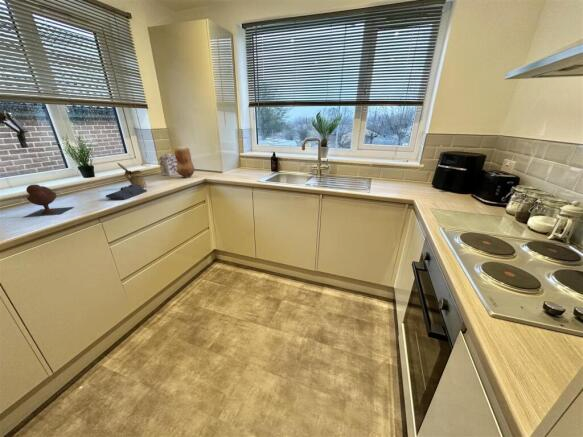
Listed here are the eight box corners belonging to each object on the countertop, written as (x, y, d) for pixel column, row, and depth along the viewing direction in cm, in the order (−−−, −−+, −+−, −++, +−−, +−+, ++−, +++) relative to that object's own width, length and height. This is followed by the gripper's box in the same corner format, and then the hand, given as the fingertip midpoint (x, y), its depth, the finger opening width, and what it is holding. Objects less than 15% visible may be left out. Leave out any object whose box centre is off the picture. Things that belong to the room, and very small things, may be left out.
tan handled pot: (125, 187, 171) (117, 161, 164) (146, 184, 177) (140, 160, 170) (124, 190, 164) (116, 163, 157) (146, 187, 170) (140, 161, 163)
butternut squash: (175, 177, 198) (168, 146, 188) (189, 174, 208) (184, 144, 199) (185, 179, 190) (178, 147, 181) (199, 176, 201) (194, 145, 191)
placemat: (19, 219, 116) (19, 218, 116) (41, 209, 129) (41, 209, 129) (57, 216, 119) (57, 215, 119) (74, 207, 132) (74, 206, 132)
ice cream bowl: (49, 215, 119) (36, 186, 113) (27, 216, 119) (13, 187, 114) (68, 208, 129) (57, 181, 123) (48, 209, 129) (36, 181, 123)
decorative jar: (169, 176, 203) (164, 154, 197) (161, 175, 209) (156, 153, 202) (181, 173, 213) (177, 153, 206) (174, 172, 219) (170, 152, 212)
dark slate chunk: (101, 199, 143) (99, 192, 142) (129, 190, 164) (127, 183, 162) (124, 200, 141) (122, 192, 140) (149, 190, 162) (148, 183, 160)
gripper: (25, 102, 120) (43, 146, 128) (-35, 103, 115) (-13, 148, 123) (12, 101, 113) (32, 147, 121) (-53, 101, 108) (-28, 150, 117)
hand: (9, 148), depth 122 cm, fingers open, 13 cm apart
